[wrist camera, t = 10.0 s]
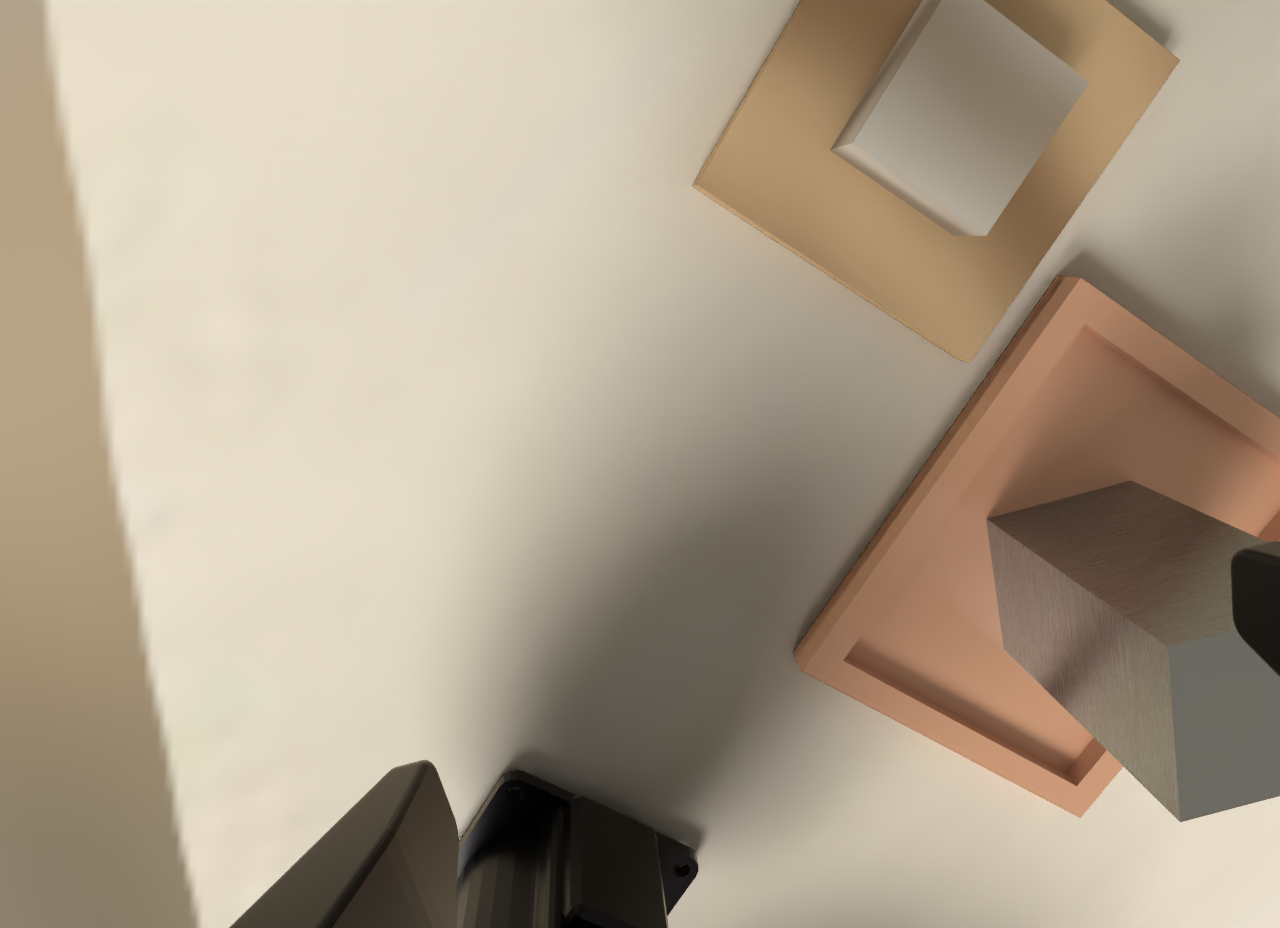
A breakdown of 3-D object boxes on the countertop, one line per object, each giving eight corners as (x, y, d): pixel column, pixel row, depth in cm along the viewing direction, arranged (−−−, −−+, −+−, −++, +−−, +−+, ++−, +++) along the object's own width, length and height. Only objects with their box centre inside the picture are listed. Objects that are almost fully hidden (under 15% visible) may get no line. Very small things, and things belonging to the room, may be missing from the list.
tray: (1061, 795, 25) (1080, 817, 24) (792, 652, 23) (802, 671, 22) (1329, 466, 23) (1363, 477, 22) (1057, 275, 21) (1080, 277, 20)
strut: (1142, 612, 23) (1376, 770, 16) (1003, 648, 23) (1180, 822, 16) (1131, 480, 22) (1377, 591, 15) (985, 518, 22) (1168, 646, 15)
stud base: (955, 358, 21) (1002, 373, 19) (692, 185, 19) (707, 180, 17) (1156, 66, 19) (1234, 44, 17) (887, -147, 18) (933, -203, 15)
